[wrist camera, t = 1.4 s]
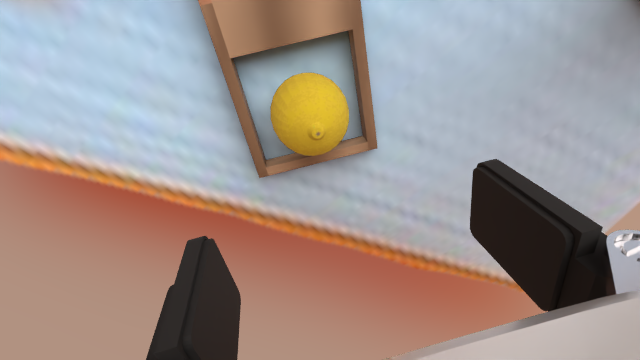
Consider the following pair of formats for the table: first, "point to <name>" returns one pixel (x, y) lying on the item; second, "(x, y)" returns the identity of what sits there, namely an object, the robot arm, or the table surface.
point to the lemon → (309, 114)
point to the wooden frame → (279, 30)
